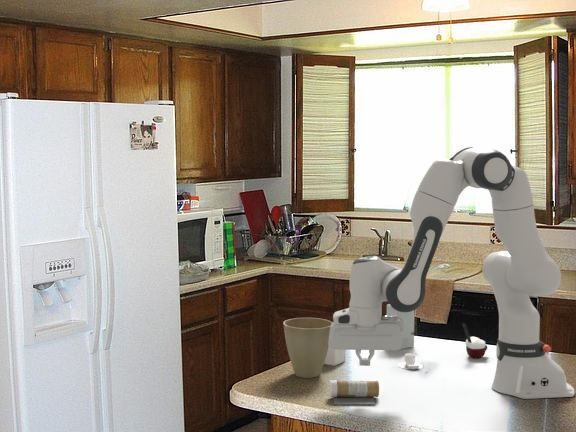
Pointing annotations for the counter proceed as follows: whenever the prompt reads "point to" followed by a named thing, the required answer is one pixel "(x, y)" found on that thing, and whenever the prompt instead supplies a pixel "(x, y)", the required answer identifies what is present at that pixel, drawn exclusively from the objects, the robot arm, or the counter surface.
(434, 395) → the counter surface
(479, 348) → the cocoa
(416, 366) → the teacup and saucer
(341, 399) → the mat
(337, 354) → the medicine bottle
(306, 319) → the plant pot
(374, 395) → the sprinkles bottle
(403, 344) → the skincare box
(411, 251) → the robot arm
